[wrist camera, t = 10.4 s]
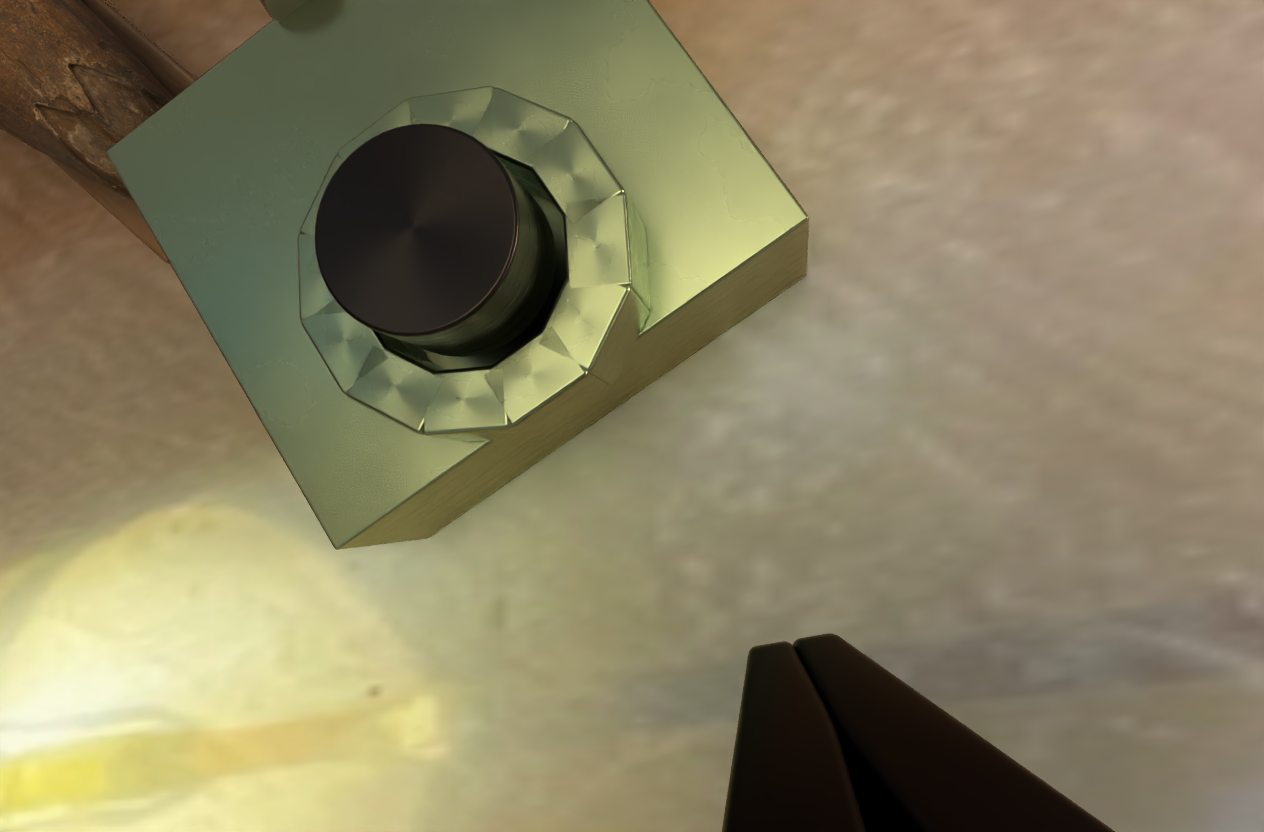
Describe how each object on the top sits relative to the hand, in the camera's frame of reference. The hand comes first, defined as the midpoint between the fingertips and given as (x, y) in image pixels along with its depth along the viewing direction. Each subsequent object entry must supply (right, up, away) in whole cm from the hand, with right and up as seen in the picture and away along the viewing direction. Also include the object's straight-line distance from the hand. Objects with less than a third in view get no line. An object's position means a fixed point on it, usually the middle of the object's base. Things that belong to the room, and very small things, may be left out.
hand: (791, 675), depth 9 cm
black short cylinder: (-5, +5, +8) cm, 11 cm away
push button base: (-5, +7, +15) cm, 18 cm away
